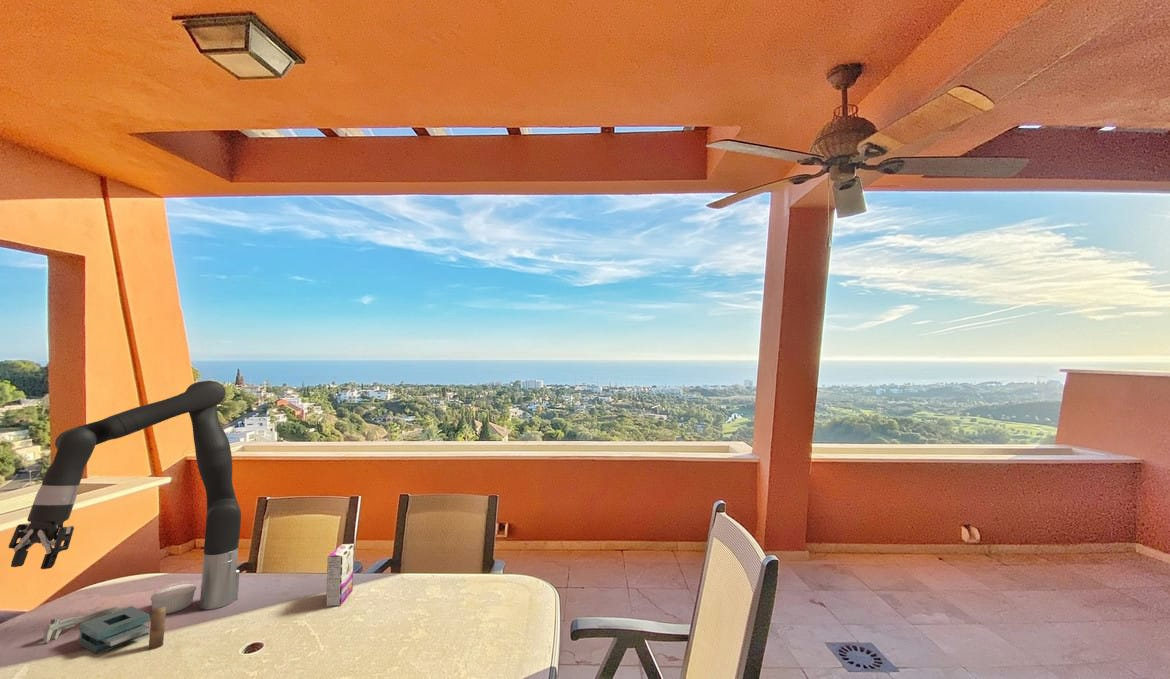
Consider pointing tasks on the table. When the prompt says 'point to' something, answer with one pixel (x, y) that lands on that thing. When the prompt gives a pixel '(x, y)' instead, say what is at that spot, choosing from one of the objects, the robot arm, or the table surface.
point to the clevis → (113, 629)
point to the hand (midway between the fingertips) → (31, 567)
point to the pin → (157, 627)
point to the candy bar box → (339, 575)
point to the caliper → (71, 623)
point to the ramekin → (174, 597)
